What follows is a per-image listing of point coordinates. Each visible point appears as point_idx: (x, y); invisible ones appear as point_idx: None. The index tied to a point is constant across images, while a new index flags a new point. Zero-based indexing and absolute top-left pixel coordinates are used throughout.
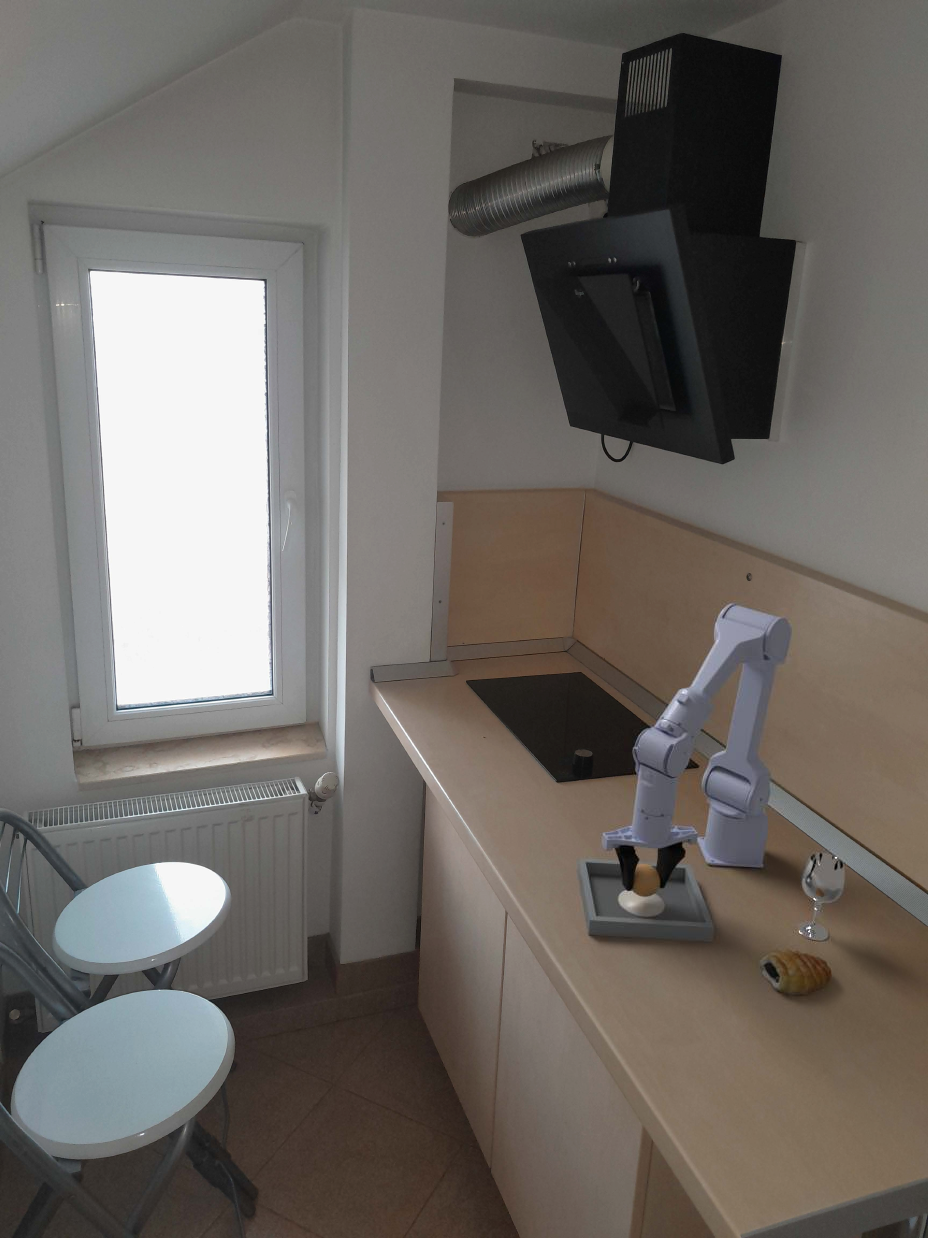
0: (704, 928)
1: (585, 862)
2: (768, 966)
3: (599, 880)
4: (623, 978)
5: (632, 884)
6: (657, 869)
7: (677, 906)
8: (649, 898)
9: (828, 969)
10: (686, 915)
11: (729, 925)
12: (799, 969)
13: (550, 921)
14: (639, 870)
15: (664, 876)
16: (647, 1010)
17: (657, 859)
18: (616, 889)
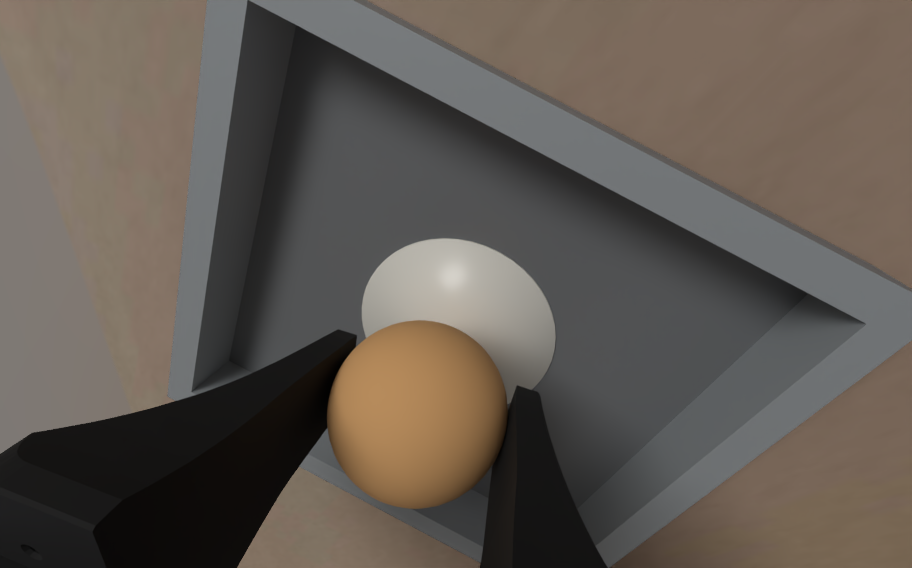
0: None
1: (244, 5)
2: None
3: (351, 112)
4: None
5: (325, 425)
6: (511, 444)
7: (584, 411)
8: (503, 330)
9: None
10: (575, 456)
11: (695, 536)
12: None
13: (112, 259)
14: (343, 464)
15: (487, 519)
16: (270, 563)
17: (516, 477)
18: (400, 212)
